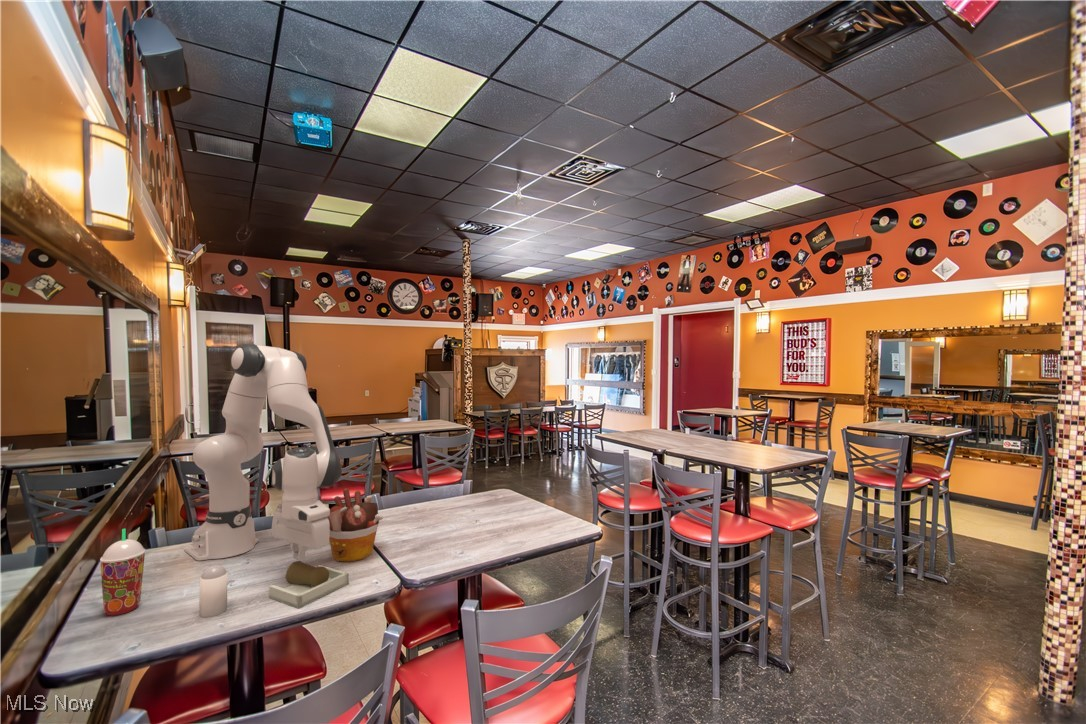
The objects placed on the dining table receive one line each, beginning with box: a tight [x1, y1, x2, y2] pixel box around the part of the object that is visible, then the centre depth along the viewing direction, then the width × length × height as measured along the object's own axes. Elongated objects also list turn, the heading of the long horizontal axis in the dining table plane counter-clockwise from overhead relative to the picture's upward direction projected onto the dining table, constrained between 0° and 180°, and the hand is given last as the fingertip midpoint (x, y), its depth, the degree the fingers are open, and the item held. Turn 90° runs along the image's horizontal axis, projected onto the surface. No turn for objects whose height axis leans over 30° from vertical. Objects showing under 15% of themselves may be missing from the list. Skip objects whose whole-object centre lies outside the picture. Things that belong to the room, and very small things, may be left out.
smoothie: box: [99, 528, 146, 617], centre depth 114 cm, size 8×8×20 cm
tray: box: [268, 564, 350, 609], centre depth 124 cm, size 12×15×3 cm
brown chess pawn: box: [285, 560, 329, 587], centre depth 126 cm, size 6×6×11 cm
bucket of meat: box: [327, 487, 384, 563], centre depth 148 cm, size 20×16×20 cm
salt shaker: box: [198, 564, 229, 619], centre depth 113 cm, size 6×6×11 cm
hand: (298, 558), depth 126 cm, fingers closed
